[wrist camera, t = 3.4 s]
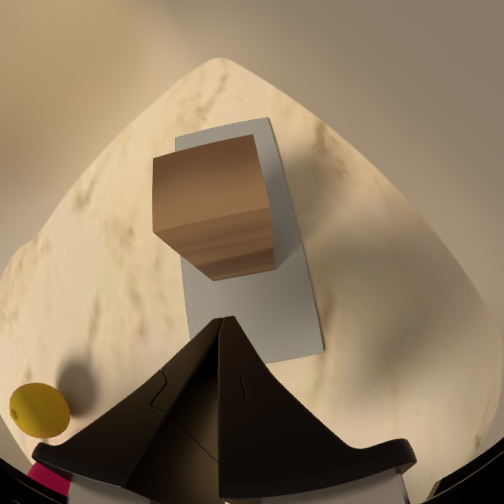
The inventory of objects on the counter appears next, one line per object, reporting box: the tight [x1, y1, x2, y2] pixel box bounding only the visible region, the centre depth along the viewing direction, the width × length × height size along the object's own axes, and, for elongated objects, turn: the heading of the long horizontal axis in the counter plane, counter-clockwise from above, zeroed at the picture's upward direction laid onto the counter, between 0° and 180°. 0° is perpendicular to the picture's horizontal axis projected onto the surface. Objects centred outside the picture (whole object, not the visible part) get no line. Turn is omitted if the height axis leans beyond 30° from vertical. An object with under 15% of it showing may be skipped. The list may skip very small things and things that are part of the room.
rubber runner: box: [175, 117, 324, 364], centre depth 23 cm, size 23×10×1 cm, turn 10°
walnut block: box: [152, 134, 275, 281], centre depth 17 cm, size 4×5×11 cm
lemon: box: [10, 383, 70, 438], centre depth 16 cm, size 6×6×8 cm
